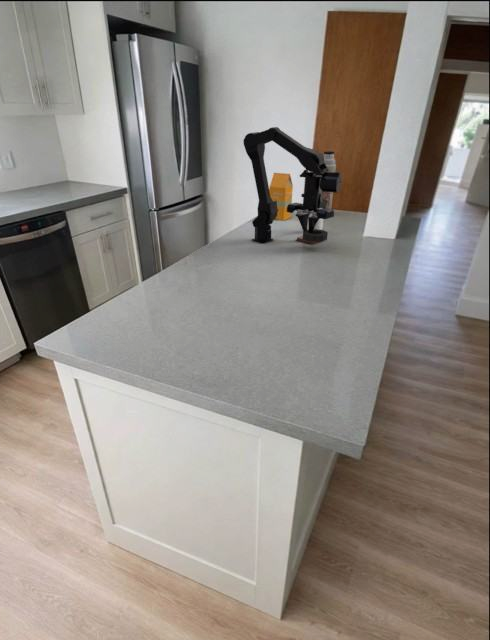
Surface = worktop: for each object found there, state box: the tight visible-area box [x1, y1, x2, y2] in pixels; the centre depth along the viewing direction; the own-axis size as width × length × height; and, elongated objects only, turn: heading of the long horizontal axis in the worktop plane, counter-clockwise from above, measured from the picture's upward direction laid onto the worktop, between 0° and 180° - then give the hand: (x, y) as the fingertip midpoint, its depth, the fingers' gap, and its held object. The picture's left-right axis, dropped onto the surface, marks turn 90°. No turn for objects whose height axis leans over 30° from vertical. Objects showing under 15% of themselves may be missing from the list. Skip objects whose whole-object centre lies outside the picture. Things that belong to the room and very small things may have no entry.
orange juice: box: [269, 172, 294, 221], centre depth 205 cm, size 8×9×20 cm
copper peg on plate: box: [296, 227, 321, 245], centre depth 175 cm, size 8×8×8 cm
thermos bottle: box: [319, 150, 337, 209], centre depth 209 cm, size 8×8×28 cm
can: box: [307, 208, 324, 230], centre depth 185 cm, size 6×6×12 cm
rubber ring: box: [302, 229, 329, 243], centre depth 165 cm, size 9×10×2 cm
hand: (307, 233), depth 167 cm, fingers closed on rubber ring, 2 cm apart
